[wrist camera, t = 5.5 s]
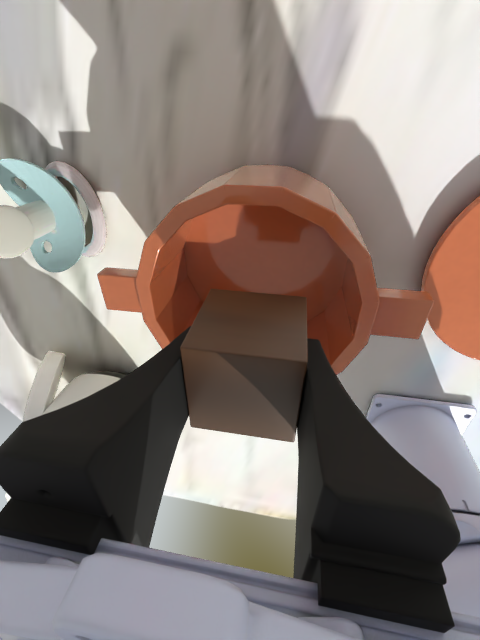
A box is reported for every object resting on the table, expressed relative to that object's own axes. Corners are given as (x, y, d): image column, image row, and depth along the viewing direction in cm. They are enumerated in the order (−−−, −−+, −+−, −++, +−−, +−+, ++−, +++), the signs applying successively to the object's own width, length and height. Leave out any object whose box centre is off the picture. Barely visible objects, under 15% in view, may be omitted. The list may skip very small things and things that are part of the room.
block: (296, 369, 15) (294, 443, 11) (214, 359, 15) (190, 427, 12) (306, 296, 12) (308, 361, 9) (210, 288, 13) (179, 347, 10)
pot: (375, 347, 24) (395, 413, 19) (155, 325, 26) (119, 377, 21) (431, 168, 17) (489, 193, 12) (124, 161, 19) (58, 179, 14)
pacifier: (90, 150, 19) (7, 155, 20) (18, 164, 14) (-89, 170, 15) (122, 259, 24) (51, 259, 24) (74, 300, 18) (-13, 299, 19)
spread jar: (163, 430, 35) (111, 550, 25) (72, 415, 36) (-10, 523, 27) (148, 349, 28) (69, 470, 19) (36, 334, 30) (-90, 439, 20)
